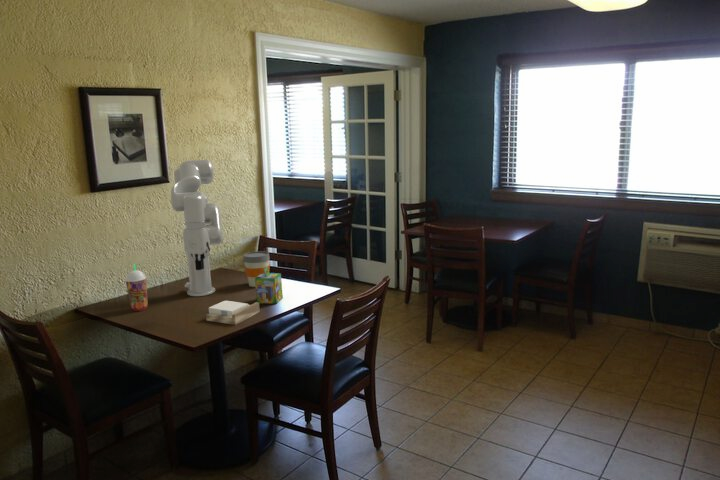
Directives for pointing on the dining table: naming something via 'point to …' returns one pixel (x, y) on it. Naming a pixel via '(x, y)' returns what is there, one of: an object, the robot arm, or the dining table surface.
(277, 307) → the dining table surface
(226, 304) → the carton
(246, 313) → the open wooden frame
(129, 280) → the smoothie
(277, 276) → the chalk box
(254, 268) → the reusable coffee cup
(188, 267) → the robot arm
